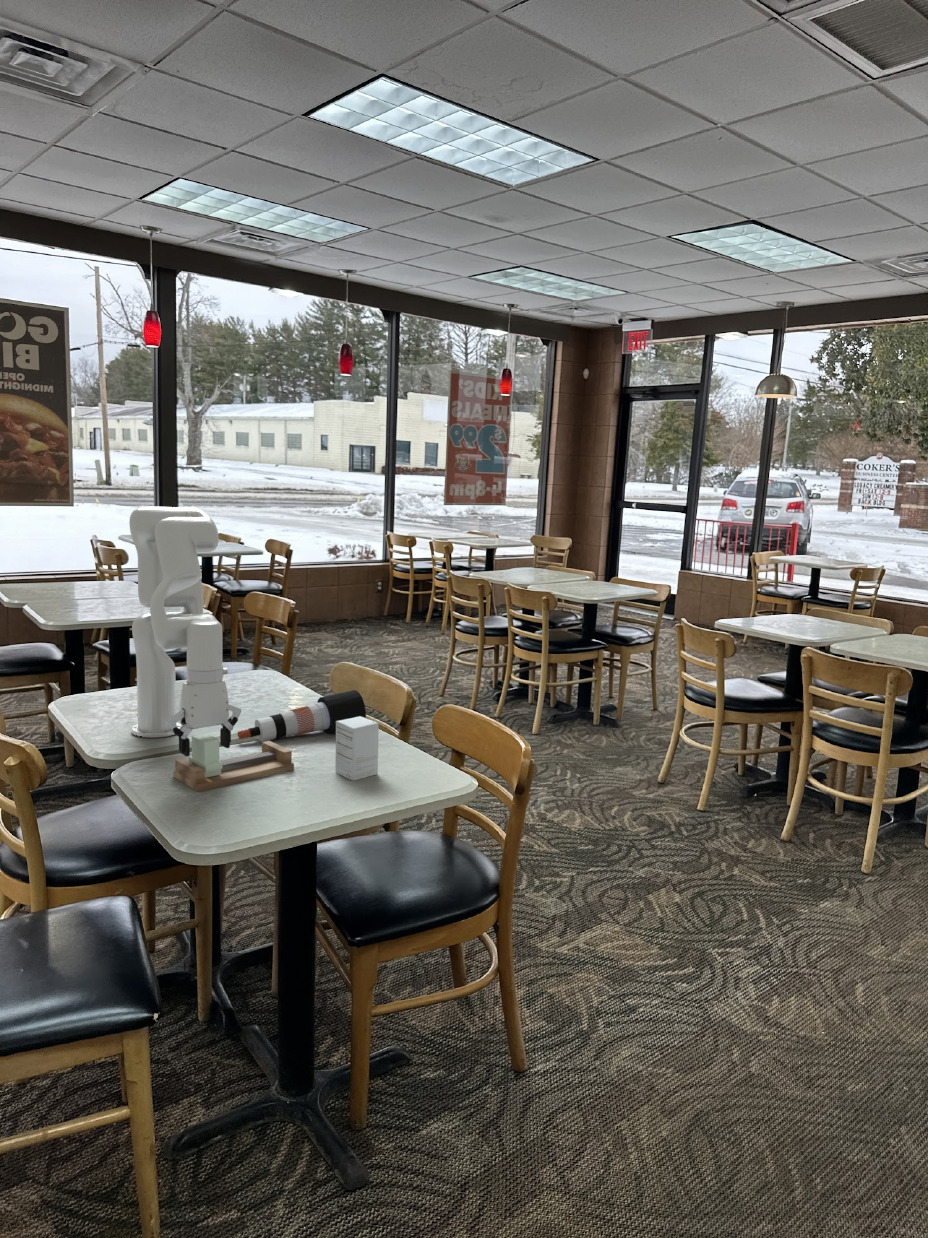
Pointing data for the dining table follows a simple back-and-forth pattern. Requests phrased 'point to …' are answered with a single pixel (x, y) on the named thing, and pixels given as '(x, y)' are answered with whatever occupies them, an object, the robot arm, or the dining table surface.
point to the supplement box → (357, 748)
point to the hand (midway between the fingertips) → (205, 750)
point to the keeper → (206, 754)
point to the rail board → (237, 768)
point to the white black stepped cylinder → (309, 717)
